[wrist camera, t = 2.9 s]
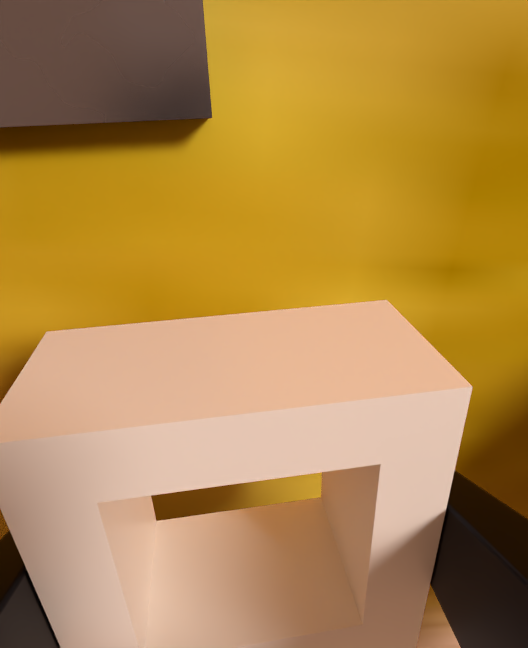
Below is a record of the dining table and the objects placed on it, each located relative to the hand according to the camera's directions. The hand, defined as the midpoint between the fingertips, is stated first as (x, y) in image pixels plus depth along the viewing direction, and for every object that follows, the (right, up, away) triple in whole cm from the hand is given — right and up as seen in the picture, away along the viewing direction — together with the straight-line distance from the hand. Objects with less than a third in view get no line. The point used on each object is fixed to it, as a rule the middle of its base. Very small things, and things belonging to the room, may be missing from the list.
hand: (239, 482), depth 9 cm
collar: (0, +1, +1) cm, 1 cm away
